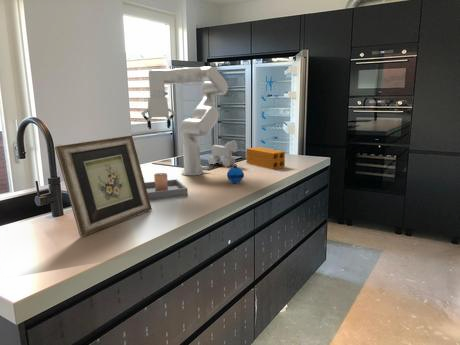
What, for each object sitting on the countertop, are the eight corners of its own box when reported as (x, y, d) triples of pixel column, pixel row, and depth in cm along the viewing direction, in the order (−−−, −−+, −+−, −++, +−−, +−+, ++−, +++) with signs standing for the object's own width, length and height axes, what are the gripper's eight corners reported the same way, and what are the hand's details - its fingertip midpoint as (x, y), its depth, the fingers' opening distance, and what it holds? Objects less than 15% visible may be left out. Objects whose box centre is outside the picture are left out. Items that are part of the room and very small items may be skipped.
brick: (284, 167, 230) (284, 151, 228) (272, 169, 224) (272, 153, 222) (258, 161, 250) (258, 147, 248) (246, 163, 244) (246, 148, 242)
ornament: (224, 184, 190) (224, 165, 188) (230, 180, 198) (230, 162, 195) (240, 185, 187) (240, 166, 185) (245, 181, 195) (245, 162, 193)
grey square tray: (177, 185, 188) (177, 179, 188) (187, 195, 170) (187, 188, 169) (137, 190, 181) (136, 183, 180) (143, 201, 163) (143, 193, 162)
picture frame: (82, 237, 123) (72, 147, 116) (64, 232, 128) (53, 145, 121) (152, 210, 150) (147, 136, 143) (134, 207, 155) (129, 135, 148)
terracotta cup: (166, 188, 179) (165, 172, 178) (169, 191, 174) (168, 174, 172) (154, 190, 177) (153, 173, 175) (156, 193, 172) (155, 176, 170)
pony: (241, 165, 238) (240, 139, 234) (232, 168, 229) (232, 141, 226) (215, 162, 248) (214, 137, 245) (206, 165, 240) (205, 139, 236)
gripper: (172, 94, 195) (174, 127, 199) (139, 94, 189) (141, 128, 193) (175, 94, 188) (177, 128, 192) (141, 95, 182) (143, 129, 186)
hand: (159, 128), depth 192 cm, fingers open, 9 cm apart
